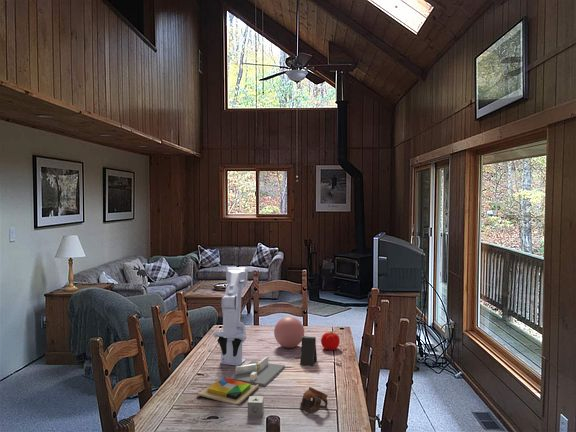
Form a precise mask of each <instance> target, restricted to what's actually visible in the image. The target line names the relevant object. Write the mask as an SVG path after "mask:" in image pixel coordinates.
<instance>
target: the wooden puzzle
mask: <svg viewBox="0 0 576 432" xmlns="http://www.w3.org/2000/svg"><path fill="white" fill-rule="evenodd" d="M230 378H231V377H226V376H223V377H220V378H218V379H216V380H215V381H214V382H213V383H211V384H210V385H209V386H207V387H206V388H204V389H203V390H201V391H200V392H199V393H198V394H197V395H196V397H197V398H199V397H204V398H207V399H211V400H215V401H218V402H222V403H225V402H226V404H230V403H231V404H230V405H236V404H238V405H240V404H241V403H243V402H244V401H245V400H246V399H247V398H249V396H251V394H253V392H255V390H257V389H258V388H259V385H258V384H257V385H253V384H249V383H245V382H241V381H236V380H233V379H230ZM238 405H237V406H238Z"/></svg>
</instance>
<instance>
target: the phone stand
mask: <svg viewBox="0 0 576 432" xmlns="http://www.w3.org/2000/svg"><path fill="white" fill-rule="evenodd" d="M316 340H317V339H316V336H305V335H304V336H303V337H302V341H301V347H300V348H301V350H300V361H299V362H300V363H299V365H300V366H303V367H304V366H305V367H314V366H315V364H316V362H317V360H318V355H317V345H316V343H317V341H316Z"/></svg>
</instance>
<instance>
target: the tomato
mask: <svg viewBox="0 0 576 432" xmlns="http://www.w3.org/2000/svg"><path fill="white" fill-rule="evenodd" d="M340 340H341V338H340V336H339V334H337V333H335V332H332V331H329V332H325V333H324V334H322V336H321V339H320V344H321V346H322V348H324V350H330V351H332V350H336V349H338V347H339V345H340V342H341V341H340Z"/></svg>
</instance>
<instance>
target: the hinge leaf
mask: <svg viewBox="0 0 576 432" xmlns="http://www.w3.org/2000/svg"><path fill="white" fill-rule="evenodd" d="M248 364H249V363H248ZM248 364H245V365H243V364H242V365H239V366H234V367H235V368H234V369H235V372H234V373H235V374H236V375H239V374H245V373H252V372H256V369H259V366H257V367H256V364H249V365H248Z"/></svg>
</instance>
